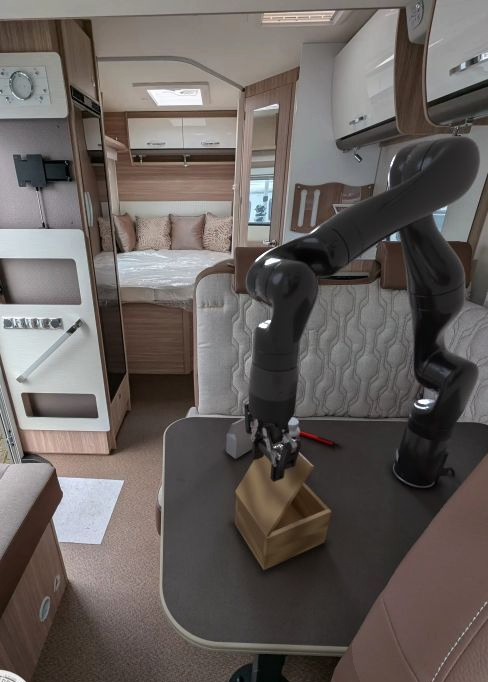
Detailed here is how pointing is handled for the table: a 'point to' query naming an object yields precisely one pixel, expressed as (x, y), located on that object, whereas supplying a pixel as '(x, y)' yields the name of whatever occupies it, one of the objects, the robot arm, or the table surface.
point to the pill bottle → (294, 428)
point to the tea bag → (238, 439)
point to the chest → (286, 529)
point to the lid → (271, 488)
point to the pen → (318, 438)
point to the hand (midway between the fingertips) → (266, 467)
